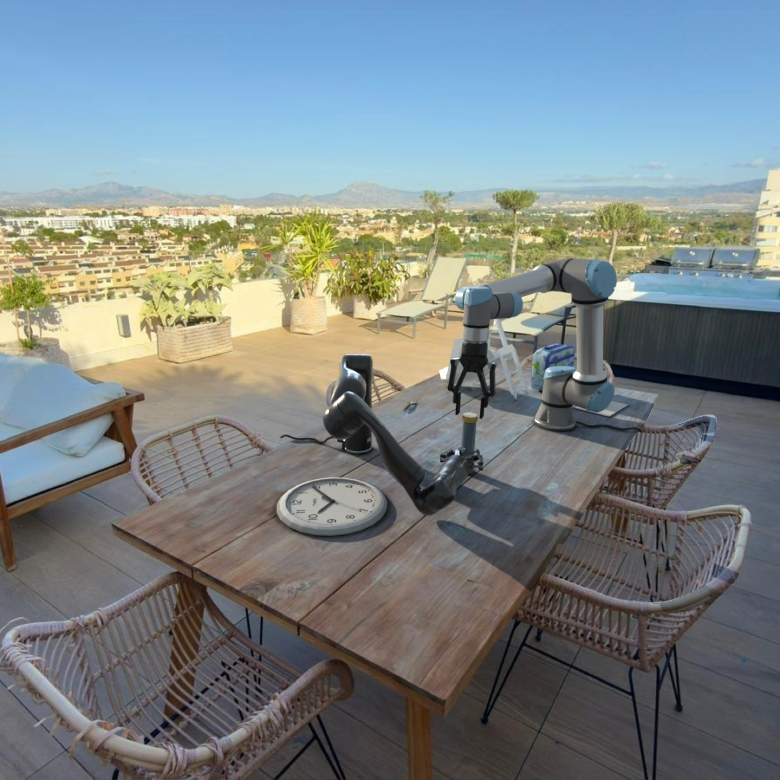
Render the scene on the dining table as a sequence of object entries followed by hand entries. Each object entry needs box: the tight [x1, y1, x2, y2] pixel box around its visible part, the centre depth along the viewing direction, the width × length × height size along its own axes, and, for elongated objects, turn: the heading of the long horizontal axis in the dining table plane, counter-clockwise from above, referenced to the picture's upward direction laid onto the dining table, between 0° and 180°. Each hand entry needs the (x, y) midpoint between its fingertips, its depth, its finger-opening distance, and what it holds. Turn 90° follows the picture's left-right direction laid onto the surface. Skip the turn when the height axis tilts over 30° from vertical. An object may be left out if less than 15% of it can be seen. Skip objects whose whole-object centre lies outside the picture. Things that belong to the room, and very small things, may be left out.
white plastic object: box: [438, 319, 531, 400], centre depth 245 cm, size 37×45×31 cm
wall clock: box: [276, 476, 388, 537], centre depth 142 cm, size 30×2×30 cm
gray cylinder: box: [460, 420, 477, 475], centre depth 161 cm, size 4×4×18 cm
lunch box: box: [530, 343, 576, 391], centre depth 249 cm, size 26×11×21 cm, turn 134°
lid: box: [461, 412, 479, 423], centre depth 159 cm, size 5×5×2 cm
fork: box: [403, 395, 419, 411], centre depth 222 cm, size 3×16×2 cm, turn 160°
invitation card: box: [573, 400, 629, 418], centre depth 226 cm, size 21×1×15 cm
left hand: (469, 450), depth 165 cm, fingers closed on gray cylinder, 4 cm apart
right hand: (469, 415), depth 159 cm, fingers open, 7 cm apart
